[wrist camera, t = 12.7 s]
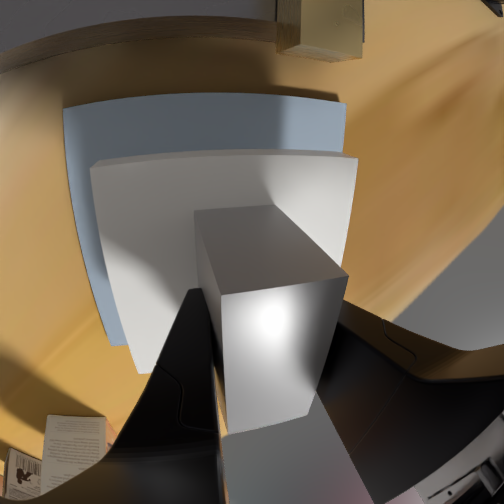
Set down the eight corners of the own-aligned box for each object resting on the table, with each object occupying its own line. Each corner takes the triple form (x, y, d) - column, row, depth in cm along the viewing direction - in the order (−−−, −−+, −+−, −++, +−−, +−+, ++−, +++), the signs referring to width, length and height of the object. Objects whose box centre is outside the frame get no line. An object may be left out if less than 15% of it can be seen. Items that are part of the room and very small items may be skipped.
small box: (131, 454, 21) (146, 549, 12) (79, 452, 20) (85, 544, 11) (106, 415, 17) (116, 542, 9) (45, 412, 16) (40, 529, 7)
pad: (340, 103, 12) (346, 103, 12) (312, 311, 18) (316, 316, 17) (67, 108, 9) (62, 108, 8) (111, 339, 14) (111, 346, 14)
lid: (338, 151, 10) (454, 200, 5) (311, 325, 13) (367, 410, 9) (98, 160, 8) (29, 227, 3) (138, 352, 11) (145, 462, 7)
